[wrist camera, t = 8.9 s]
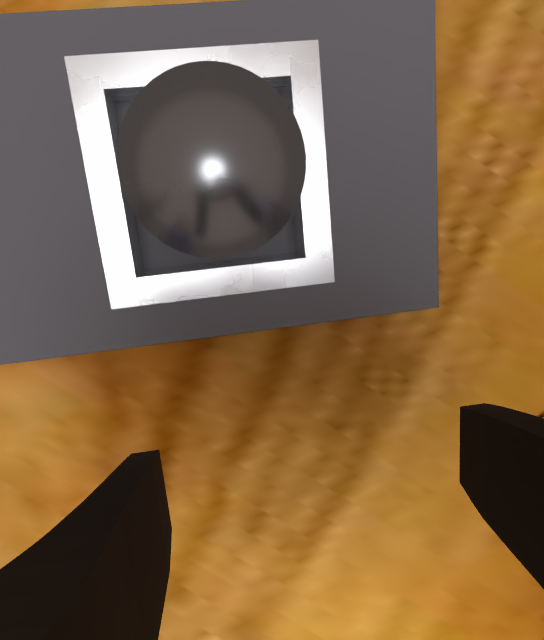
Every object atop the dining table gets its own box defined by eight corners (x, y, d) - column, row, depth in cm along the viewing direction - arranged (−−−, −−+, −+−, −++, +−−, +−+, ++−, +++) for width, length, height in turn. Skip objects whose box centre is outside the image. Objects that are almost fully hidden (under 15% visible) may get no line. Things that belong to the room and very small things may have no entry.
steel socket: (305, 58, 17) (318, 39, 15) (321, 274, 19) (334, 282, 17) (80, 74, 16) (64, 56, 14) (121, 298, 18) (111, 309, 16)
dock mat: (429, -6, 17) (434, -11, 17) (434, 305, 20) (438, 307, 20) (-81, 23, 16) (-89, 18, 15) (4, 361, 18) (-1, 364, 18)
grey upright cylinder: (258, 123, 17) (298, 53, 10) (268, 232, 18) (313, 247, 11) (149, 133, 17) (100, 68, 9) (166, 243, 18) (134, 268, 10)
